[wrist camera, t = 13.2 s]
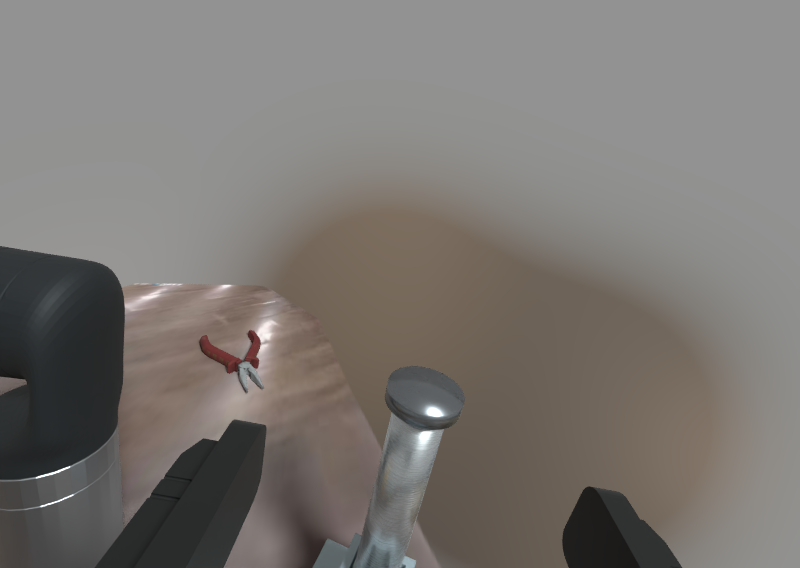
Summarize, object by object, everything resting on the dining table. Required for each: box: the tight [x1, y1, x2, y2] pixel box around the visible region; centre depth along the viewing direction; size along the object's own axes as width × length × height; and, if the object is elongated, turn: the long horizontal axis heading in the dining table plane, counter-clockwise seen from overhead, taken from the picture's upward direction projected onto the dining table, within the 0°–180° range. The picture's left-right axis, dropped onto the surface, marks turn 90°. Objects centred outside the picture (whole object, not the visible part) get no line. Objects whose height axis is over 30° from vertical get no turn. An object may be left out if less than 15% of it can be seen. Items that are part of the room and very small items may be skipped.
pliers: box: [200, 330, 264, 393], centre depth 74 cm, size 12×20×3 cm, turn 36°
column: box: [353, 366, 465, 568], centre depth 30 cm, size 6×6×21 cm
